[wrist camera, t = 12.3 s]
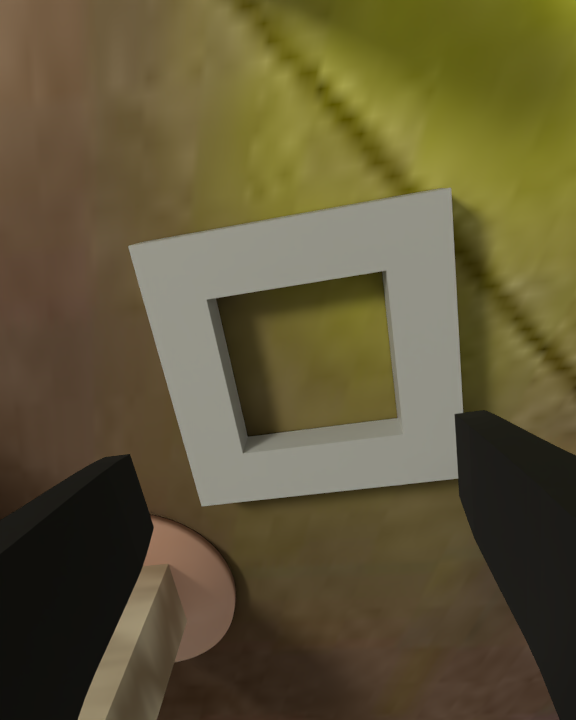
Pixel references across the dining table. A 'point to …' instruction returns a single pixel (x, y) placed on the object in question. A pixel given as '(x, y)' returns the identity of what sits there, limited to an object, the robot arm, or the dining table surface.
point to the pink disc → (195, 583)
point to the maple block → (139, 652)
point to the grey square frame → (294, 267)
